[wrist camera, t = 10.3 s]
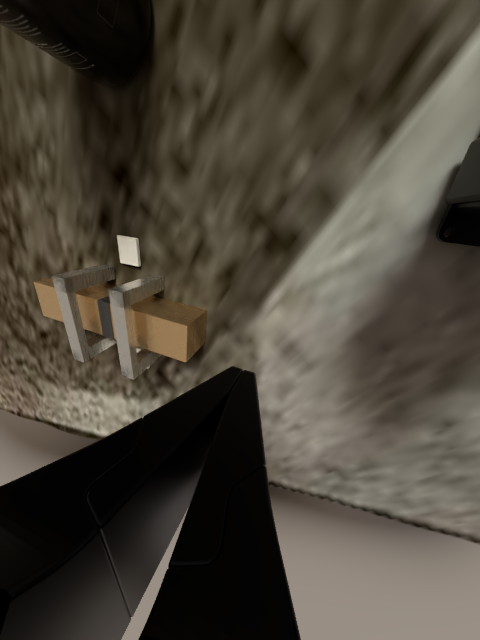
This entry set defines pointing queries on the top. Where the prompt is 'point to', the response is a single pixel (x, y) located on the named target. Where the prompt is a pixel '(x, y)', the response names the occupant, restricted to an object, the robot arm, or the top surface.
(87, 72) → the supplement bottle
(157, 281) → the collar
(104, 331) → the banded wooden block
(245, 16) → the top surface
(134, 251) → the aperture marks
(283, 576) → the robot arm
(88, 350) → the collar
